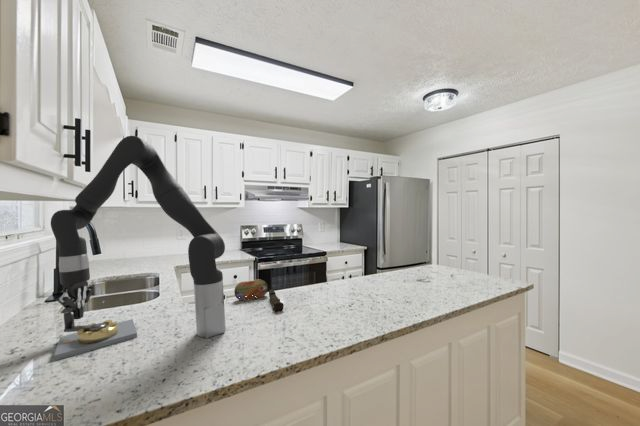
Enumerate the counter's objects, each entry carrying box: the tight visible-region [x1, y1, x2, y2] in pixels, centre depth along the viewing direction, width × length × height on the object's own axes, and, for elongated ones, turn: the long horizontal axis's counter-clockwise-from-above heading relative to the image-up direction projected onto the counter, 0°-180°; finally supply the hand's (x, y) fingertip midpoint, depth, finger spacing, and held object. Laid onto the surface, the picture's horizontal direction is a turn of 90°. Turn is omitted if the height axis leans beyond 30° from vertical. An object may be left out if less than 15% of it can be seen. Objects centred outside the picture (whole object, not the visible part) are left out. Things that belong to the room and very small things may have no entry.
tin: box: [233, 278, 269, 302], centre depth 126 cm, size 15×3×8 cm, turn 114°
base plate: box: [53, 319, 138, 361], centre depth 91 cm, size 16×20×2 cm
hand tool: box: [268, 289, 284, 313], centre depth 116 cm, size 19×4×5 cm, turn 18°
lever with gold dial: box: [63, 310, 118, 344], centre depth 89 cm, size 15×10×8 cm, turn 92°
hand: (78, 318), depth 93 cm, fingers closed
